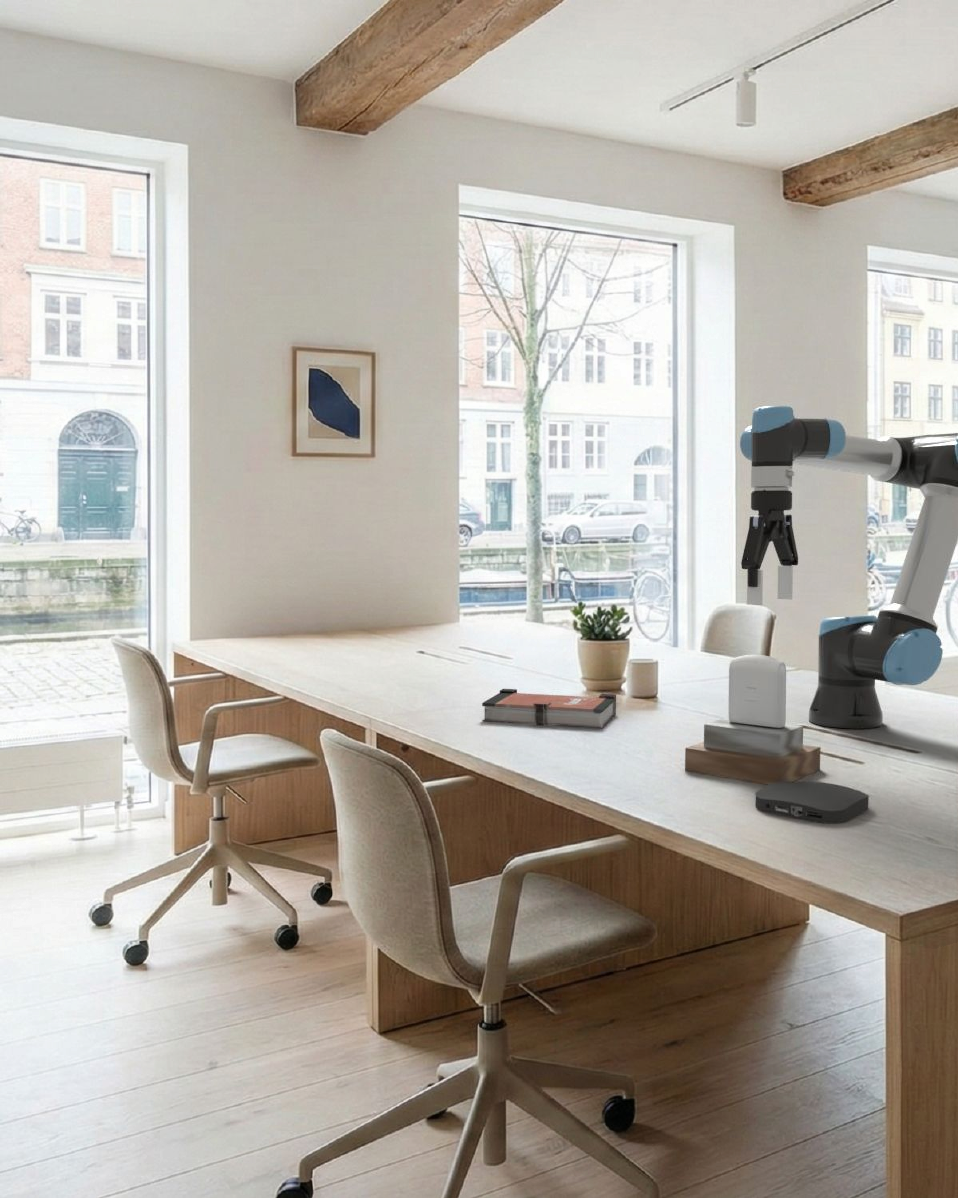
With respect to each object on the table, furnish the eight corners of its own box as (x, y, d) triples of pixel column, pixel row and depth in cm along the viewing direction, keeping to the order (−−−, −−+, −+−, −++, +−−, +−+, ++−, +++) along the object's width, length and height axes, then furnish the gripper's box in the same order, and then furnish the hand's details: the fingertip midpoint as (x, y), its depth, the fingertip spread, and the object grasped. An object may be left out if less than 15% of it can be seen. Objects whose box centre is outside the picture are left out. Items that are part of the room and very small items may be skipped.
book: (481, 724, 239) (481, 701, 239) (503, 710, 256) (503, 688, 255) (601, 731, 232) (601, 707, 231) (615, 716, 248) (616, 694, 248)
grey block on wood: (727, 754, 208) (728, 712, 207) (819, 769, 196) (821, 724, 196) (684, 770, 195) (685, 725, 195) (781, 786, 184) (782, 739, 183)
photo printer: (724, 722, 197) (725, 653, 196) (735, 719, 201) (736, 651, 200) (778, 730, 191) (780, 658, 190) (789, 726, 194) (791, 656, 193)
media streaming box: (876, 808, 172) (876, 789, 172) (838, 829, 161) (838, 809, 161) (788, 792, 182) (788, 774, 182) (746, 811, 171) (746, 792, 170)
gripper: (761, 489, 197) (760, 608, 199) (816, 489, 216) (814, 597, 218) (723, 489, 202) (722, 606, 203) (780, 489, 221) (778, 596, 223)
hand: (770, 602), depth 211 cm, fingers open, 13 cm apart
